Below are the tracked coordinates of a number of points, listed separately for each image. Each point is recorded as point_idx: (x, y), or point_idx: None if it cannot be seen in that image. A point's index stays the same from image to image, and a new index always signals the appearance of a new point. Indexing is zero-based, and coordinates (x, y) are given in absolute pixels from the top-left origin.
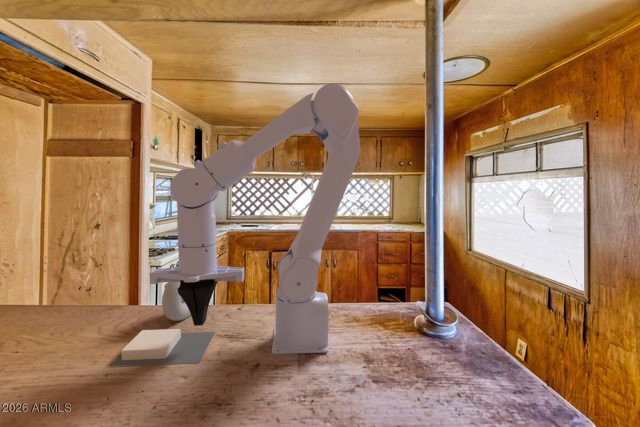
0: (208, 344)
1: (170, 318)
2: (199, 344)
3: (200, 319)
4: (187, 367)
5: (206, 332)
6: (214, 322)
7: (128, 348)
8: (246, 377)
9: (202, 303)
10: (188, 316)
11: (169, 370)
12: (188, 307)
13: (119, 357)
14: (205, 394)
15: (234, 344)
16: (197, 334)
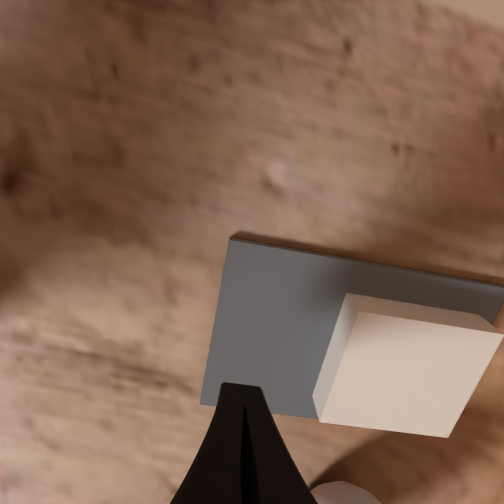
0: (212, 337)
1: (361, 488)
2: (244, 343)
3: (228, 404)
4: (268, 236)
5: None
6: None
7: (482, 342)
8: (41, 119)
9: (199, 499)
10: None
11: (325, 235)
12: (300, 481)
13: None
14: (183, 63)
15: (121, 326)
16: None
